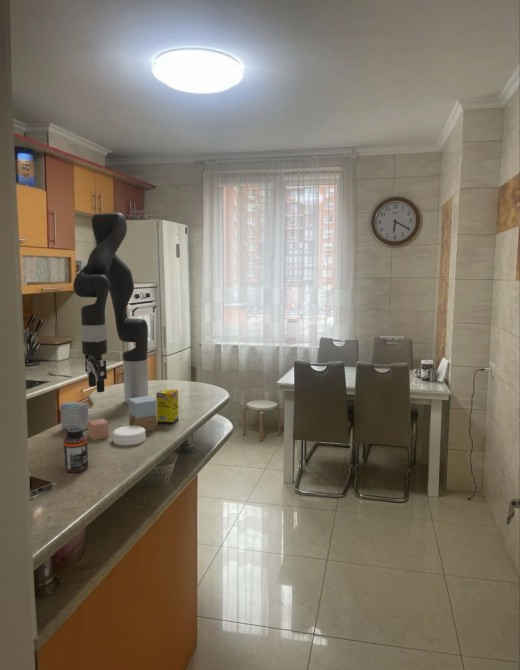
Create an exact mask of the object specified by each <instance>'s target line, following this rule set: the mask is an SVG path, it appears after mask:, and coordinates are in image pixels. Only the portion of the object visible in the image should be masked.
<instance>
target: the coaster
mask: <svg viewBox="0 0 520 670" xmlns="http://www.w3.org/2000/svg"><path fill="white" fill-rule="evenodd" d="M146 439H147V438H146V431H145V429H144V428H143V427H140V426H129V425H125V426H119V427H117V428H115V429H114V430H113V431H112V443H114V444H115V445H117V446H125V447H126V446H128V445H129V446H135V445H139V444H141V443H144V441H146Z"/></svg>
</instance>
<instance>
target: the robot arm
mask: <svg viewBox="0 0 520 670" xmlns="http://www.w3.org/2000/svg"><path fill="white" fill-rule="evenodd" d="M91 226H92V227H91V229H92V232H93V235H94V238H95V241H96V244H97V245H96V246H95V247H94V248H93V249H92V251H91V252H90V254H89V257H88V258H87V262H86V265H85V266H84V267H82V269H81V270H80V271H79V272H78V273H77V274H76V277H75V278H74V279H73V286H72V287H73V288H72V289H73V292H74V293H75V295H76V296H77V297H80V298H96V300H95V302H94V303H92V304H86V305H83V306H82V307H81V309H80V317H81V332H80V333H81V350H82V351H81V353H82V355H84V363H85V367H84V368H85V370H84V371H85V372H86V375H87V376H88V379H87V381H88V387H90V388H92V387H96V392H97V394H98V393H104V392H105V380H107V378H108V374H107V373H108V371H107V361H106V359H103V357H102V356H103V355H105V354H107V353H108V340H107V339H108V338H107V337H108V335H107V327H106V305H107V300H108V297H109V295H110V299H111V302H112V307H113V313H114V320H115V327H116V333H117V336H118V338H119V340H120V341H121V342H123V343H135V346H134V348H131V349H130V350H126V351H124V352H123V354H122V363H123V365H122V367H123V389H124V396H123V397H124V404H126V405H129V401H128V399H130V398H136V397H143V396H149V380H148V379H149V374H148V349H149V347H148V346H149V344H148V340H149V328H148V327H149V326H148V323H147V320H145V319H144V318H129V317H128V313H127V307H128V304H129V302H130V300H131V298H132V296H133V293H134V290H135V284H134V279H133V273H132V271H131V269H130V267H129V266H128V265H127V264H126V263H125V262H124V261H123V260H122V258H120V257H119V255H118V254H117V251H118V249H119V248H120V246H121V245H122V242H123V241H124V240H125V237H126V235H127V230H128V225H127V220H126V217H125V215H124V214H123V213H122V212H104V213H103V212H102V213H95V214H94V215H93V216H92V218H91Z"/></svg>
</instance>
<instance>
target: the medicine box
mask: <svg viewBox="0 0 520 670" xmlns="http://www.w3.org/2000/svg"><path fill="white" fill-rule="evenodd" d="M60 416H61V429H62V430H65V429H69V428H73V427H81V428H82V430H83V432H84V431H86V430H87V428H88V421H90V416H89V404H88V403H86V402H77V401H67V402H64V403H62V404H60ZM85 429H86V430H85Z"/></svg>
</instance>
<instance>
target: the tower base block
mask: <svg viewBox="0 0 520 670" xmlns="http://www.w3.org/2000/svg"><path fill="white" fill-rule="evenodd" d="M128 422H129V423H128V424H129V425H128V426H140V427H143V428H144V429H145V432H149V431H154V430H158V426H157V425H158V423H157V415H153V416H147V417H141V418H135V417H134V416H132V415H131V414H130V413H129V412H128ZM153 429H154V430H153ZM148 430H149V431H148Z"/></svg>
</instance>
